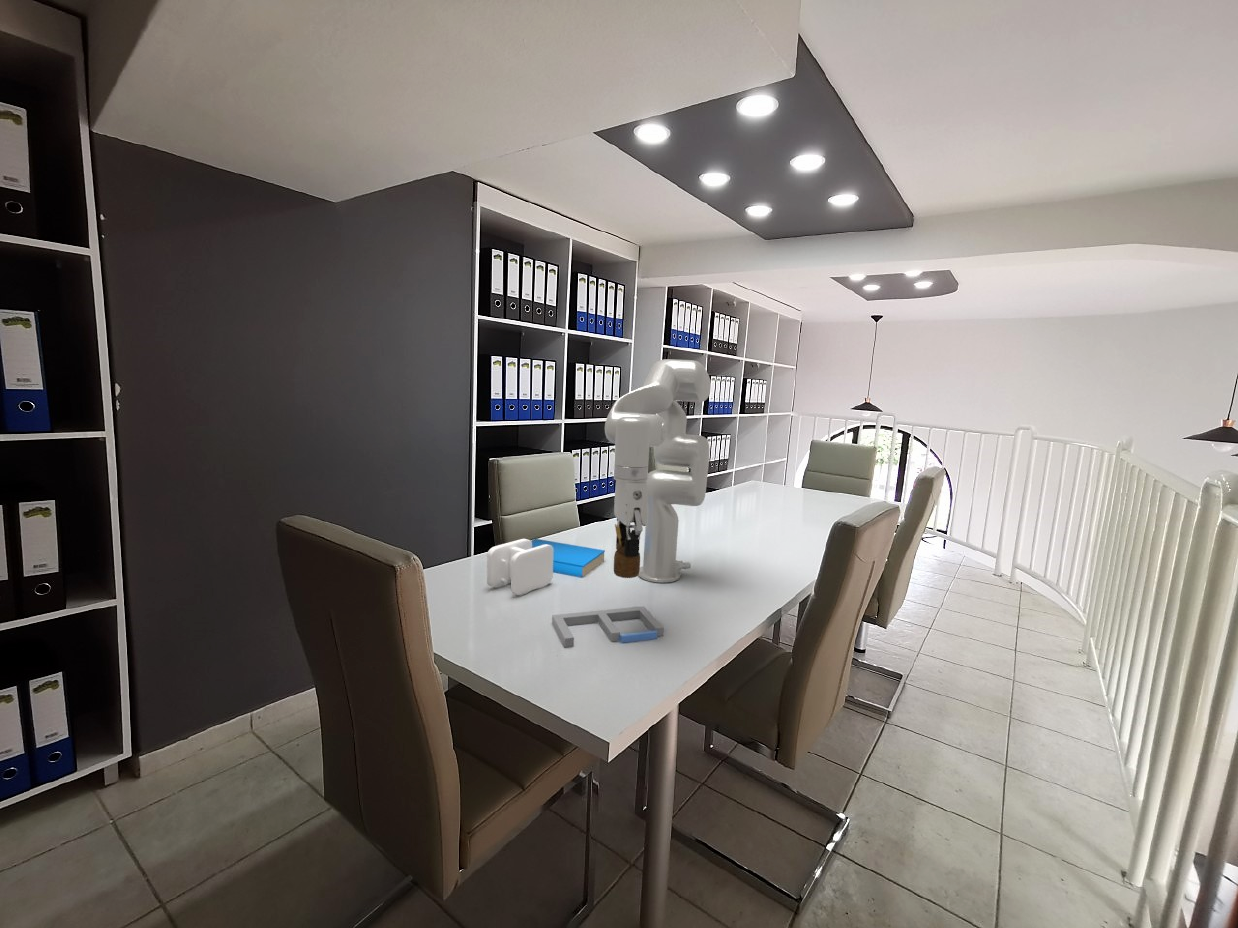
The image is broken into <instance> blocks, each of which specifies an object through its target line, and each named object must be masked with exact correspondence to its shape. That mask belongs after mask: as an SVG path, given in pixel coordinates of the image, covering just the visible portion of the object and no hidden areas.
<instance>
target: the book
mask: <svg viewBox="0 0 1238 928" xmlns="http://www.w3.org/2000/svg"><path fill="white" fill-rule="evenodd" d="M530 541H531V542H532V548H534V547H538V546H541V545H544V544H547V545H551V546H552V547H553V549H554V552H553V573H557V574H562V575H566V576H571V577H577V578H578V577H579V578H584V577H585V576H586V575H588V574H589V573H591V572H592V571H593V570H595V569H596V568H597V567H598V566H599V565H601V564H602V563H604V562H605V552H606V550H604V549H597V548H593V547H587V546H581V545H574V544H569V543H563V542H556V541H552V540H545V539H540V538H534V539H532V540H530Z"/></svg>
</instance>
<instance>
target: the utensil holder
mask: <svg viewBox="0 0 1238 928" xmlns="http://www.w3.org/2000/svg"><path fill="white" fill-rule="evenodd" d="M614 527H615V533H616V538H617V537H618V539H619V542H618V543H617V546H616V545H615V549H616V550H615V553H614V557H613V573H614V575H615V576H616V577H619V578H623V579H634V578H637V576H638V574H639V571H640V567H641V553H640V552H639V555H638V556H633V557H626V556H625V555H624V551H625V541H622V542H621V539H620V538H621V532H620V528H619V525H617V523H615V524H614ZM632 530H634V528H631V531H632ZM638 577H639V576H638Z"/></svg>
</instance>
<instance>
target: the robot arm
mask: <svg viewBox="0 0 1238 928" xmlns="http://www.w3.org/2000/svg"><path fill="white" fill-rule="evenodd" d="M711 388H712V385H711V378H710V376H709V374H708V371H707V369H706V368H705V366H704V364H702V363H701V362H699V361H697V360H693V359H691V360H690V359H672V358H671V359H668V358H667V359H666V358H664V359H660V360H658V361H656V362H654V363H653V365H652V366H651V367H650V369H649V372H648V375H647V376H646V378H645V380H644V382H643V384H642V386H640V387H639V388H636V389H633V390H632V391H630V392H627V393H626V394H624V395H622V396H620V397H619V398H618V399H617V400H616V401H615V402H614V403H613V405H612V406H611V409H610V411H609V412H608V414H607V417H606V419H605V422H604V423H605V424H604V435H605V437H606V439H607V440H608V441H609V442H610V443H612V444H614V461H613V462H614V465H613V480H615V481H616V482H615V489H614V490H615V491H614V499H613V500H614V501H613V503H614V504H613V505H614V507H613V513H614V516H615V517H616V521H617V523H616V526H617V525H619V528H620V532H621V538H620V539H621V542H622V541H625V551H624V555H625V556H626V557H633V556H638V555H639V553H640V540H641V534H642V532H643V527H644V528H645V529H644V530H645V531H644V547H643V548H644V549H643V559H642V566H640V571H639V574H638V577H639V578H640V579H643V580H644V581H648V582H652V583H659V584H660V583H673V582H676V581H679V579H680V578H681V572H680V571H682V570H690V569H691V565H692V564H691V562H689V561H688V562H687V561H686V562H683V560H677V550H678V548H677V547H678V533H679V522H680V521H679V516H678V513H677V511H676V510H675V508H674V507H673V505H679V506H688V507H699V506H701V505H702V504H703V503H704V501H705V497H706V492H707V482H708V473H709V464H710V449H711V448H710V444H709V440H708V439H707V438H706V437H705V436H702V435H697V434H687V422H688V418H687V414H686V413H685V411H684V409H683V408H682V407H681V405H680V404H679V402H689V403H690V402H692V403H703V402H705V401H706V400H708V398H709V396H710V394H711ZM650 448H653V457H654V460H655V461H656V462H657V464H659V465H661V466H662V465H664V466H671V467H677V468H678V467H679V468H687V469H691V471H690V472H689V471H679V470H672V469H655V470H652V471H649V461H650ZM632 523H634V524H632ZM633 528H634V529H633ZM632 529H633V530H632ZM618 542H619V539H618V537H617V536H616V541H615V543H616V544H615V547H616V546H617V543H618Z"/></svg>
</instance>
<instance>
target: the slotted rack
mask: <svg viewBox="0 0 1238 928" xmlns="http://www.w3.org/2000/svg"><path fill="white" fill-rule="evenodd" d="M632 619H634V620H635V619H639V620H640V621H641V622H642V623H643V625H644V626H645V625H646V626H647V627H646V626H645V627H646V628H647V629H648V630H647V631H639V632H630V633H622V634H621V631H620V630H619V629H618V628H617V626H616V625H615V624H614V622H615V621H622V620H632ZM596 622H597V624H598V625H599V626H600V628H601V630H602V631H603V632H604V633H605V635H606V637H607V638H608V639H609V641H610V642H620V644H624V643H630V642H631V643H632V642H641V641H647V640H648V641H650V640H657V639H658V637H664V631H665V630H664V626H663V625H662V624H661V623H660V622H659V620H657V618H656V617H655V616H654V615H653V614H652V613H651V612H650V611H649V610H648V609H647V608H646V607H645V606H644V605H642V606H641V605H640V606H632V607H622V608H621V607H620V608H611V609H601V610H591V611H583V612H581V611H579V612H570V613H560V614H553V615H552V617H551V624H552V626H553V627H554V630H555V631H556V634H557V636H558V638H559V640H560V642H561V643H562V646H563V647H564V648H570V647H571V648H572V647H575V646H574V645H575V644H574V643H575V637H574V635H573V634H572V632H571V629H570V628H569V626H574V625H575V626H576V625H584V624H585V625H586V624H594V623H596Z"/></svg>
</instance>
